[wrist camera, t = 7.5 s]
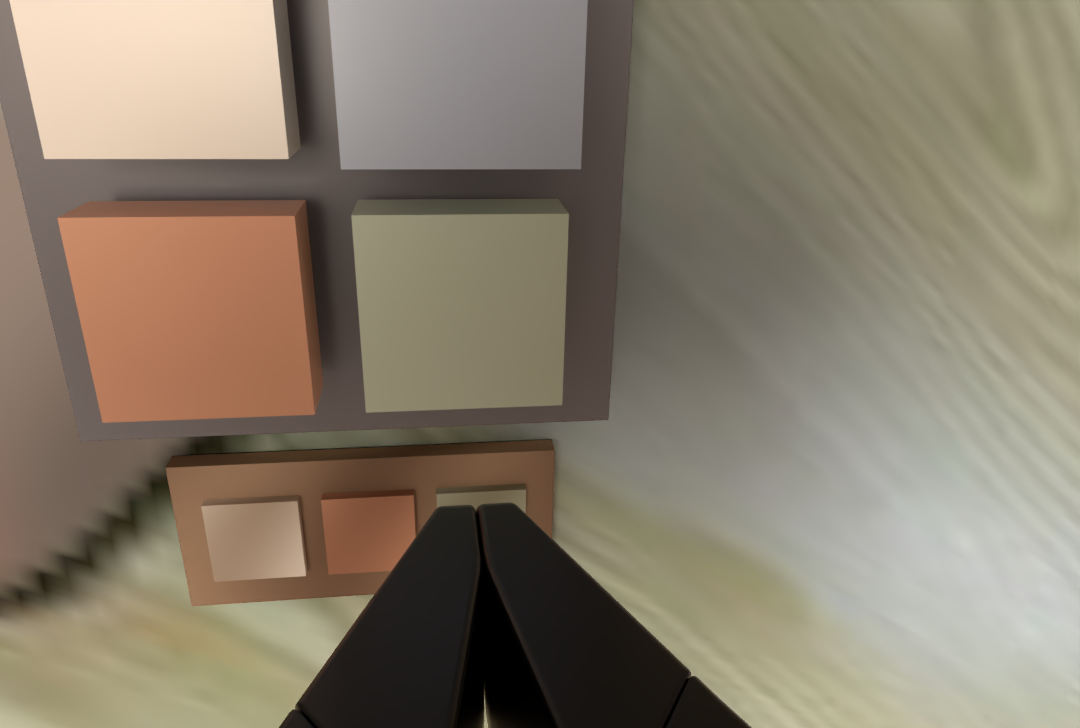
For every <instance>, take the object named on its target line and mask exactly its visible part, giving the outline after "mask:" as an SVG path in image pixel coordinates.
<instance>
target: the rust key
mask: <svg viewBox="0 0 1080 728" xmlns="http://www.w3.org/2000/svg"><path fill="white" fill-rule="evenodd" d="M57 219H58V224H59V228H60V233H61V237H62V242H63V246H64V251H65V255H66V260H67V264H68V269H69V273H70V278H71V282H72V287H73V291H74V296H75V300H76V305H77V309H78V314H79V318H80V323H81V328H82V332H83V337H84V341H85V346H86V350H87V355H88V359H89V364H90V368H91V373H92V377H93V382H94V386H95V391H96V395H97V400H98V404H99V409H100V413H101V418H102V423H111V422H137V421H163V420H189V419H216V418H242V417H268V416H294V415H315V413H316V409H317V406H318V402H319V399H320V396H321V392H322V389H323V375H322V365H321V355H320V344H319V334H318V323H317V313H316V302H315V292H314V282H313V271H312V261H311V250H310V240H309V230H308V219H307V209H306V200H218V201H88V202H86V203H84V204H83V205H81V206H79V207H77V208H75V209H73V210H71V211H69V212H67V213H65V214H64V215H62V216H60V217H58V218H57Z"/></svg>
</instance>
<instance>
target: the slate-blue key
mask: <svg viewBox="0 0 1080 728" xmlns="http://www.w3.org/2000/svg"><path fill="white" fill-rule="evenodd" d="M587 5H588V0H328V8H329V21H330V34H331V47H332V60H333V73H334V86H335V99H336V112H337V125H338V138H339V151H340V163H341V169H581V155H582V130H583V105H584V80H585V55H586V30H587Z"/></svg>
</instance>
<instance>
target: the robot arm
mask: <svg viewBox="0 0 1080 728" xmlns="http://www.w3.org/2000/svg"><path fill="white" fill-rule="evenodd" d="M484 696H485V706H486V715H487V722H488V728H751V727H750V726H749V725H748V724H747V723H746V722H745V721H744V720H743V719H742V718H740V717H739V716H738V715H737V714H736V713H735V712H734V711H733V710H732V709H730V708H729V707H728V706H727V705H726V704H725V703H724V702H723V701H722V700H720V699H719V698H718V697H717V696H716V695H715V694H714V693H713V692H712V691H711V690H710V689H709V688H708V687H707V686H706V685H705V684H704V683H703V682H702V681H701V680H700V679H699V678H697V677H696V676H692V677H691V672H690V670H689V669H688V668H687V667H685V666H684V665H683V664H682V663H681V662H680V661H679V660H678V659H677V658H676V657H675V656H674V655H673V654H672V653H671V652H670V651H669V650H668V649H667V648H666V647H665V646H664V645H662V644H661V643H660V642H659V641H658V640H657V639H656V638H655V637H654V636H653V635H652V634H651V633H650V632H649V631H648V630H647V629H646V628H645V627H644V626H643V625H642V624H641V623H639V622H638V621H637V620H636V619H635V618H634V617H633V616H632V615H631V614H630V613H629V612H628V611H627V610H626V609H625V608H624V607H623V606H622V605H621V604H620V603H619V602H618V601H616V600H615V599H614V598H613V597H612V596H611V595H610V594H609V593H608V592H607V591H606V590H605V589H604V588H603V587H602V586H601V585H600V584H599V583H598V582H597V581H596V580H595V579H593V578H592V577H591V576H590V575H589V574H588V573H587V572H586V571H585V570H584V569H583V568H582V567H581V566H580V565H579V564H578V563H577V562H576V561H575V560H574V559H573V558H572V557H570V556H569V555H568V554H567V553H566V552H565V551H564V550H563V549H562V548H561V547H560V546H559V545H558V544H557V543H556V542H555V541H554V540H553V539H552V538H551V537H550V536H549V535H547V534H546V533H545V532H544V531H543V530H542V529H541V528H540V527H539V526H538V525H537V524H536V523H535V522H534V521H533V520H532V519H531V518H530V517H529V516H528V515H527V514H526V513H524V512H523V511H522V510H521V509H520V508H519V507H518V506H517V505H516V504H514V503H511V502H506V503H489V504H481V505H479V506H478V507H477V510H476V509H475V508H474V507H473V506H472V505H452V506H440V507H438V508H436V509H435V511H434V512H433V513H432V515H431V516H430V518H429V519H428V520H427V522H426V523H425V525H424V526H423V527H422V529H421V530H420V532H419V533H418V534H417V536H416V537H415V539H414V540H413V541H412V543H411V544H410V546H409V547H408V548H407V550H406V551H405V553H404V554H403V555H402V557H401V558H400V560H399V561H398V562H397V564H396V565H395V567H394V568H393V569H392V571H391V572H390V574H389V575H388V576H387V578H386V579H385V581H384V582H383V583H382V585H381V586H380V588H379V589H378V590H377V592H376V593H375V595H374V596H373V597H372V599H371V600H370V602H369V603H368V604H367V606H366V607H365V609H364V610H363V611H362V613H361V614H360V616H359V617H358V618H357V620H356V621H355V623H354V624H353V625H352V627H351V628H350V630H349V631H348V632H347V634H346V635H345V637H344V638H343V639H342V641H341V642H340V644H339V645H338V646H337V648H336V649H335V651H334V652H333V653H332V655H331V656H330V658H329V659H328V660H327V662H326V663H325V665H324V666H323V667H322V669H321V670H320V672H319V673H318V674H317V676H316V677H315V679H314V680H313V681H312V683H311V684H310V686H309V687H308V688H307V690H306V691H305V693H304V694H303V695H302V697H301V698H300V700H299V701H298V702H297V704H296V706H295V710H292V711H291V712H290V713H289V714H288V716H287V717H286V718H285V720H284V721H283V723H282V724H281V726H280V727H279V728H484Z"/></svg>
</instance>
